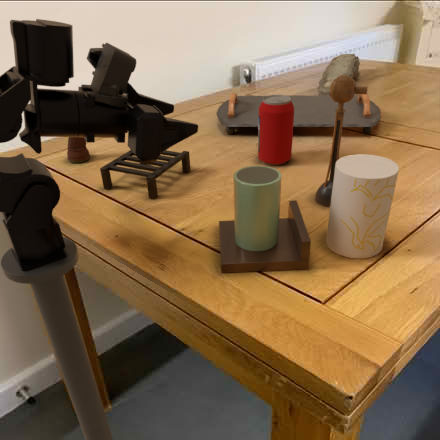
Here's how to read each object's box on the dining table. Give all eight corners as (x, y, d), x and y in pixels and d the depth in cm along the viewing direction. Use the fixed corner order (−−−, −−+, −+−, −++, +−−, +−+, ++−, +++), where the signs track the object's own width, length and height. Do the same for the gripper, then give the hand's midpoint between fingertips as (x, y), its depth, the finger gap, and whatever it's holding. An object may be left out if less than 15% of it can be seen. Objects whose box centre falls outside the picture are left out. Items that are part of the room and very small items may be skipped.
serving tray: (212, 137, 106) (210, 109, 103) (222, 106, 125) (221, 82, 121) (386, 138, 102) (392, 109, 99) (371, 106, 120) (375, 80, 117)
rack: (154, 199, 83) (151, 178, 80) (103, 188, 87) (99, 168, 84) (190, 171, 92) (189, 151, 90) (143, 162, 96) (140, 143, 94)
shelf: (221, 273, 64) (220, 245, 62) (219, 229, 74) (218, 203, 71) (308, 269, 64) (311, 241, 62) (294, 225, 74) (296, 200, 71)
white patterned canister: (341, 262, 65) (353, 182, 58) (317, 234, 72) (325, 158, 64) (393, 252, 67) (411, 173, 60) (364, 225, 73) (378, 151, 66)
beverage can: (274, 151, 99) (276, 91, 91) (298, 160, 94) (302, 98, 87) (250, 160, 95) (251, 98, 88) (274, 169, 91) (276, 106, 84)
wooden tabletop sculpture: (349, 195, 81) (368, 71, 69) (350, 207, 78) (370, 79, 66) (315, 193, 82) (328, 71, 70) (314, 205, 79) (327, 79, 67)
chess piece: (65, 157, 99) (53, 109, 93) (88, 152, 101) (78, 104, 95) (71, 164, 96) (59, 114, 90) (95, 159, 98) (85, 110, 92)
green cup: (251, 256, 65) (251, 189, 58) (226, 237, 69) (224, 172, 63) (287, 242, 67) (291, 176, 61) (260, 224, 72) (262, 161, 65)
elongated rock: (349, 83, 120) (310, 83, 123) (348, 104, 123) (310, 104, 126) (364, 50, 145) (332, 52, 148) (363, 69, 148) (331, 69, 151)
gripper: (92, 63, 50) (221, 74, 57) (58, 31, 63) (167, 43, 69) (91, 164, 56) (208, 163, 63) (61, 116, 69) (161, 119, 76)
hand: (185, 118), depth 68 cm, fingers open, 9 cm apart
